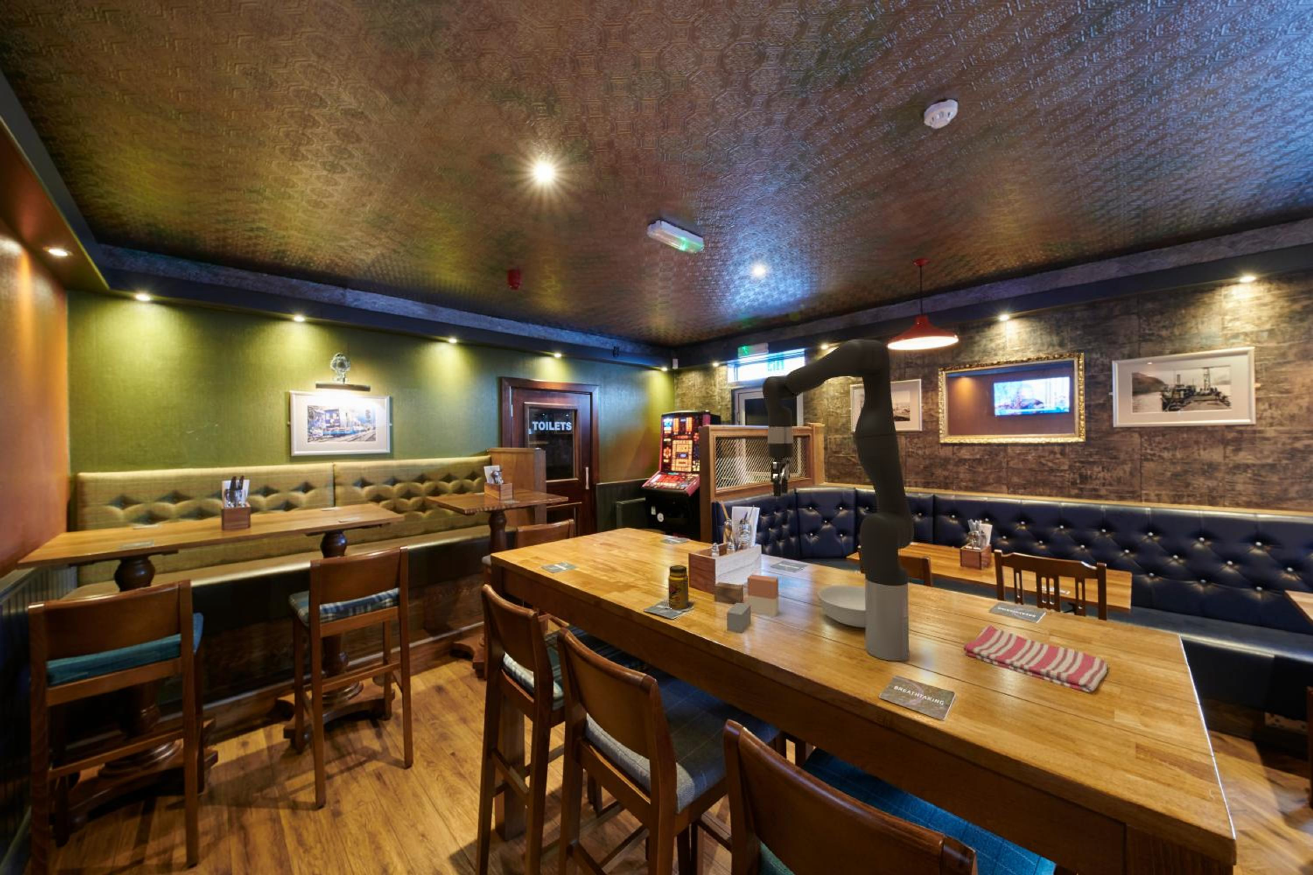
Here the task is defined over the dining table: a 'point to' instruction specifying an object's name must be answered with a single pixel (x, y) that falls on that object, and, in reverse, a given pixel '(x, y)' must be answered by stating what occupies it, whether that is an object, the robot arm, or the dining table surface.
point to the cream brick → (764, 605)
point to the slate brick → (738, 617)
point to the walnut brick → (728, 593)
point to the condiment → (678, 588)
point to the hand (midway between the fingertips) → (780, 494)
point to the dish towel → (1038, 659)
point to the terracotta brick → (762, 586)
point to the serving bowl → (844, 604)
